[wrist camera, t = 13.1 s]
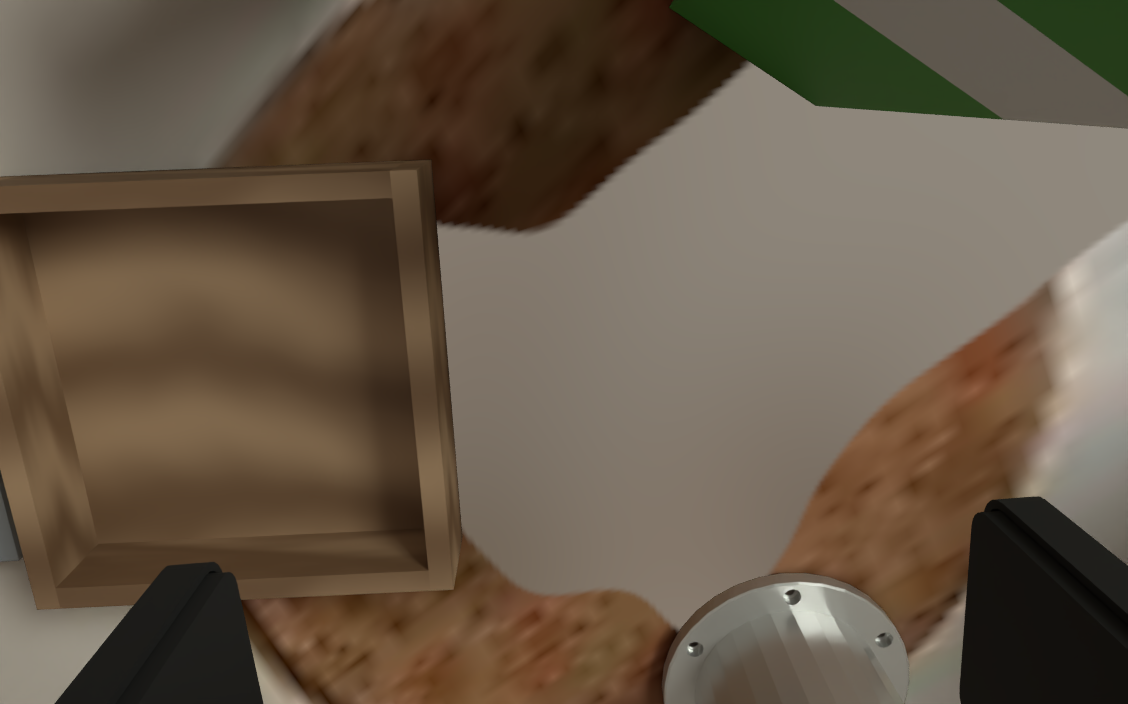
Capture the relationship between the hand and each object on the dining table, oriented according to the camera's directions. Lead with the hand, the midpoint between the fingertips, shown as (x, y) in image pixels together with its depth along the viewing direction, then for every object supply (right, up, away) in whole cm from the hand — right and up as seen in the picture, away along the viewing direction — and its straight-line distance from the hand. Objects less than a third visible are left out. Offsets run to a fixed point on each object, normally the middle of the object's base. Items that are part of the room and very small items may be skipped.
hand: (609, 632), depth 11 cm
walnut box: (-15, +3, +27) cm, 31 cm away
